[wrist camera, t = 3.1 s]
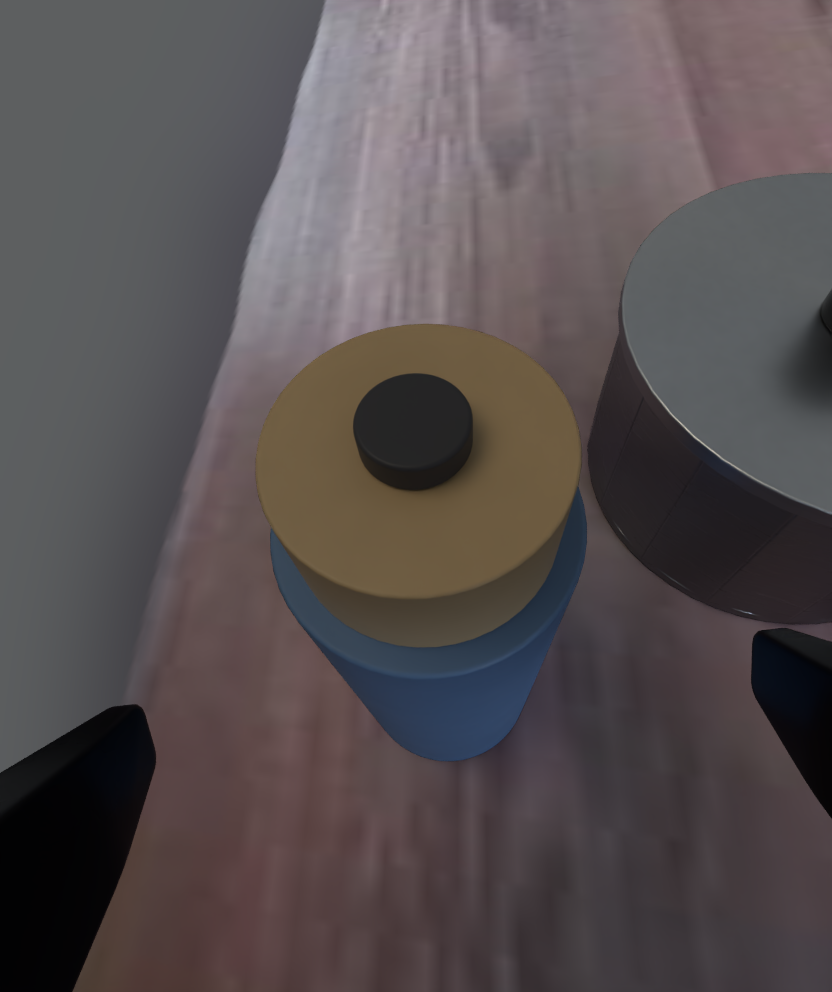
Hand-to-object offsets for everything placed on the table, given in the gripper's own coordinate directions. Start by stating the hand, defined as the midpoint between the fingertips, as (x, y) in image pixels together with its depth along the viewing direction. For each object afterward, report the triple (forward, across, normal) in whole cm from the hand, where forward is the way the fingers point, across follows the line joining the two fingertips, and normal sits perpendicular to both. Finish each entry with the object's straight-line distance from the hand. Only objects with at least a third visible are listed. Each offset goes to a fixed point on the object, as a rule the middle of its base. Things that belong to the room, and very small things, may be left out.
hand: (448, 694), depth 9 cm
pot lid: (+8, -11, -4) cm, 14 cm away
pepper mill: (+8, 0, +5) cm, 10 cm away
